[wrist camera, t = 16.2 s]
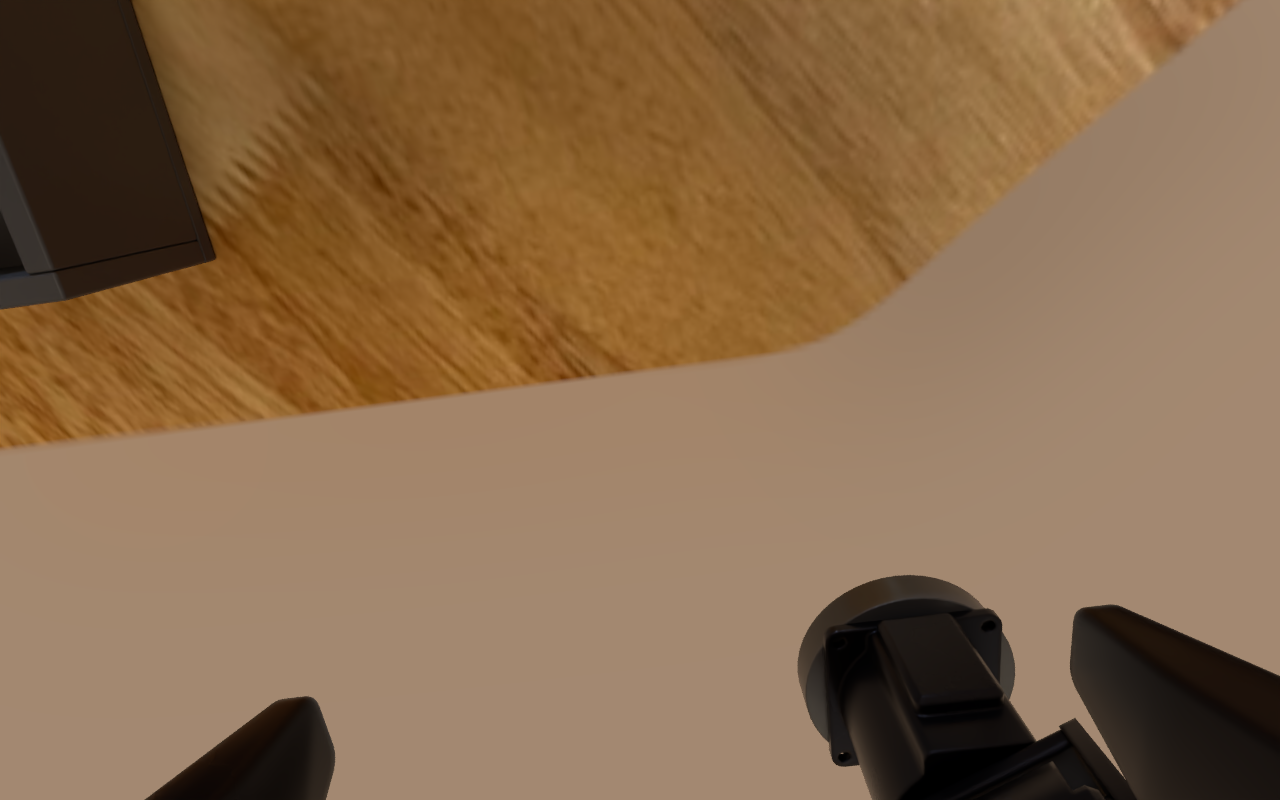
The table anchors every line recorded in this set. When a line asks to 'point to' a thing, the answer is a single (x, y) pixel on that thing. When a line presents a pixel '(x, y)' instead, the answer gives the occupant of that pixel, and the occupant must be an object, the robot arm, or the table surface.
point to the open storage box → (86, 156)
